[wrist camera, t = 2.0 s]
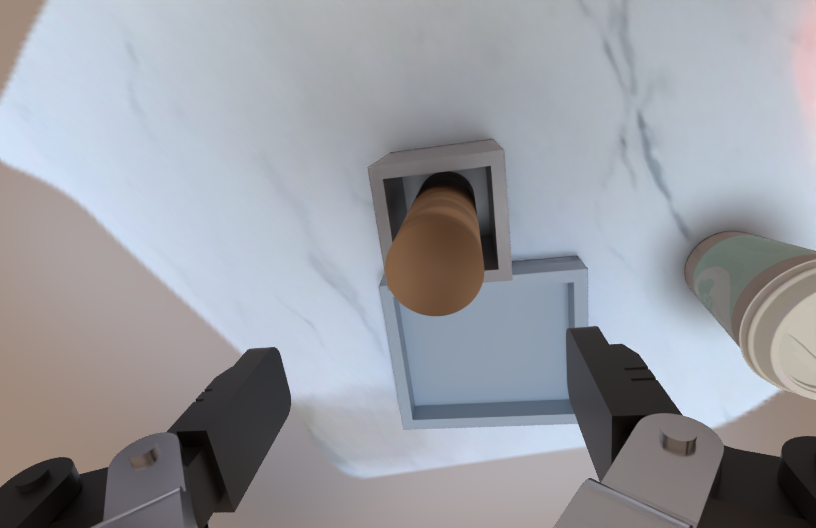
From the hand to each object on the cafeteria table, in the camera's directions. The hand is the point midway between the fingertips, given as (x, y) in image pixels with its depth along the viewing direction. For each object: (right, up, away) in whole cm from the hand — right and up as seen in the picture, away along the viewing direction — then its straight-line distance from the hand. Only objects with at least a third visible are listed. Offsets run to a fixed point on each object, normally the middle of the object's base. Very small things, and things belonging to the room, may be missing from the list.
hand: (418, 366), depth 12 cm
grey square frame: (+3, +8, +23) cm, 25 cm away
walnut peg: (+3, +8, +22) cm, 24 cm away
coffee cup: (+25, +3, +23) cm, 34 cm away
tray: (+7, -4, +27) cm, 28 cm away
